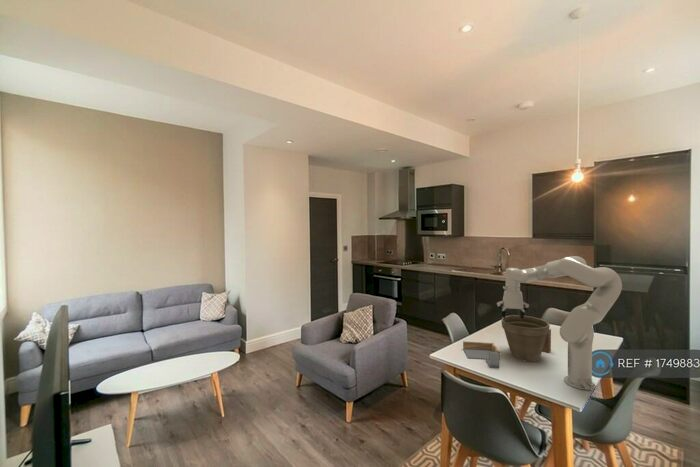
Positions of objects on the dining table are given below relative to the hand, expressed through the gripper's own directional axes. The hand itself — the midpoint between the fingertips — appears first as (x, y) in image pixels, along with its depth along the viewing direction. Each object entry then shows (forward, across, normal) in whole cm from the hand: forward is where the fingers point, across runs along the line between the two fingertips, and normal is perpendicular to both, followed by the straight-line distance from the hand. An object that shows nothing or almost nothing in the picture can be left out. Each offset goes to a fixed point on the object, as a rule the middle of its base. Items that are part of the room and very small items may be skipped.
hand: (512, 317), depth 178 cm
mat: (+24, -17, +3) cm, 30 cm away
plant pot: (+25, +8, +5) cm, 26 cm away
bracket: (+24, -13, -10) cm, 30 cm away
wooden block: (+25, +21, +18) cm, 37 cm away
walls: (+24, -17, +3) cm, 30 cm away
